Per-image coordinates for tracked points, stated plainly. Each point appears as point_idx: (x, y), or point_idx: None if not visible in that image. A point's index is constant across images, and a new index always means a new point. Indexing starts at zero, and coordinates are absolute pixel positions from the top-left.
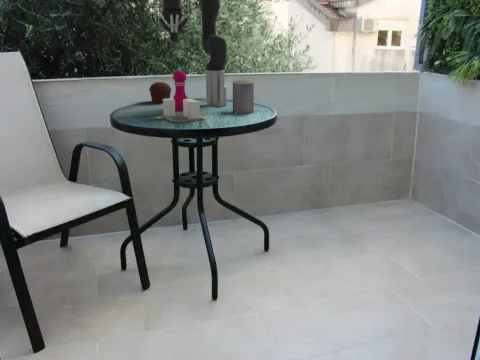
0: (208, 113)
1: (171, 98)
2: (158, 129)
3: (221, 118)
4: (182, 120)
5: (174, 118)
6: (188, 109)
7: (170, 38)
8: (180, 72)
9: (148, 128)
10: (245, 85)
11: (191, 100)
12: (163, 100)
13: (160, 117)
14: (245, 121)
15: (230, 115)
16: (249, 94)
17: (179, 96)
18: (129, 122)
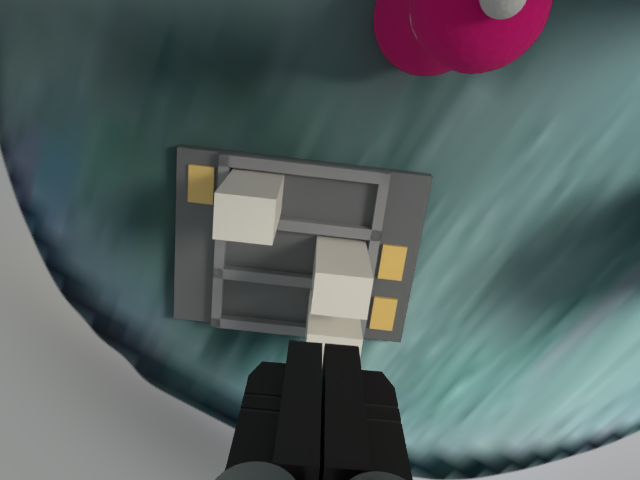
0: (522, 155)
1: (269, 206)
2: (130, 346)
3: (487, 300)
4: (257, 331)
5: (241, 280)
6: (307, 322)
7: (255, 402)
8: (476, 45)
9: (97, 309)
10: None
11: (344, 317)
12: (216, 198)
13: (203, 193)
14: (527, 402)
15: (575, 263)
16: None
17: (410, 54)
18: (48, 145)
